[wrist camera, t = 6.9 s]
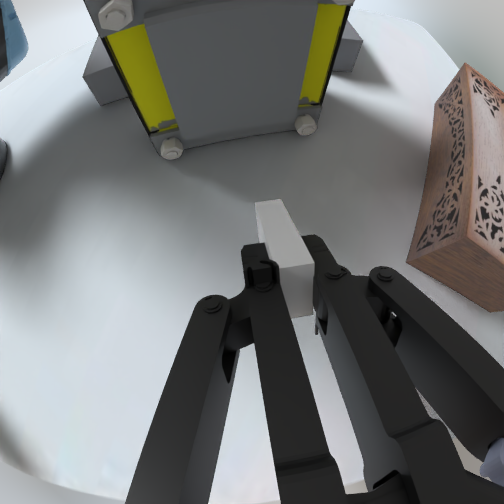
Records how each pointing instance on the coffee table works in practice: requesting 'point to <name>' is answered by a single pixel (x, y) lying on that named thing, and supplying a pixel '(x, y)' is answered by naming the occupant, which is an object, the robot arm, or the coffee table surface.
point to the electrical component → (221, 64)
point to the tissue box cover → (465, 193)
